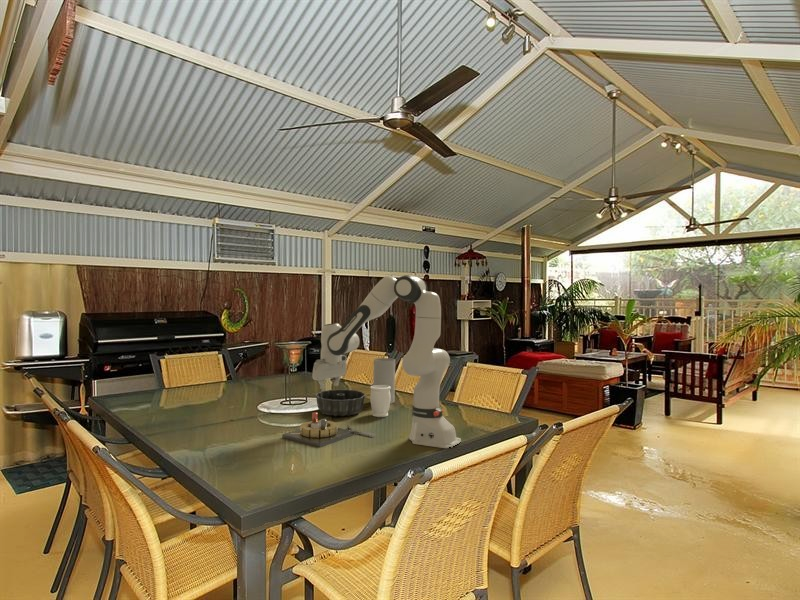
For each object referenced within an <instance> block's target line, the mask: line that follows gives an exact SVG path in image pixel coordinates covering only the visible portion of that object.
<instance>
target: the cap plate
mask: <svg viewBox="0 0 800 600" xmlns="http://www.w3.org/2000/svg"><path fill="white" fill-rule="evenodd" d="M326 427H327V425H326ZM311 428H321V422H313V423H311ZM346 429H347V428H340V427H338V432H337V433H336V434H335V435H332V436H329V437H319V438H317V437H306V436H303V435H301V434H300V428H299V429H295V430H292V431H289V432H285V433H283V434H281V435H282V438H283V439H285V440H290V441H293V442H297V443H302V444H306V445H311V446H313V447H318V448H322V447H325V446H328V445H330V444H333V443H337V442H338V440H339V441H341V440H344V439H346V437H347V438H349V437H351V435H352V436H354V435H355V434H354V431H351V430H346ZM343 438H344V439H343Z"/></svg>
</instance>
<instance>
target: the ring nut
mask: <svg viewBox="0 0 800 600" xmlns="http://www.w3.org/2000/svg"><path fill="white" fill-rule="evenodd" d="M318 416H319V414H318V412H316V411H314V412H311V421H306V422H302V423H301V424H300V425H299V429H300V434H301V435H303V436H306V437H317V438H319V437H329V436H332V435H335V434H336V433H337V432H338V428H339V425H338V423H337V422H335V421H332V420H327V419H326V418H321V419H320V420H318ZM313 422H321V428H311V423H313ZM326 425H327V427H326Z"/></svg>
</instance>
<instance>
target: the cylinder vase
mask: <svg viewBox="0 0 800 600" xmlns="http://www.w3.org/2000/svg"><path fill="white" fill-rule="evenodd" d="M372 379H373V382H372V383H373V385H387V386H391V389H390V394H391V401H390V405H392V404H394V403H395V401H396V400H395V394H396V390H395V388H396V359H394V358H387V357H382V358H381V357H380V358H379V357H378V358H374V359H373V378H372ZM373 385H372V386H373Z"/></svg>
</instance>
